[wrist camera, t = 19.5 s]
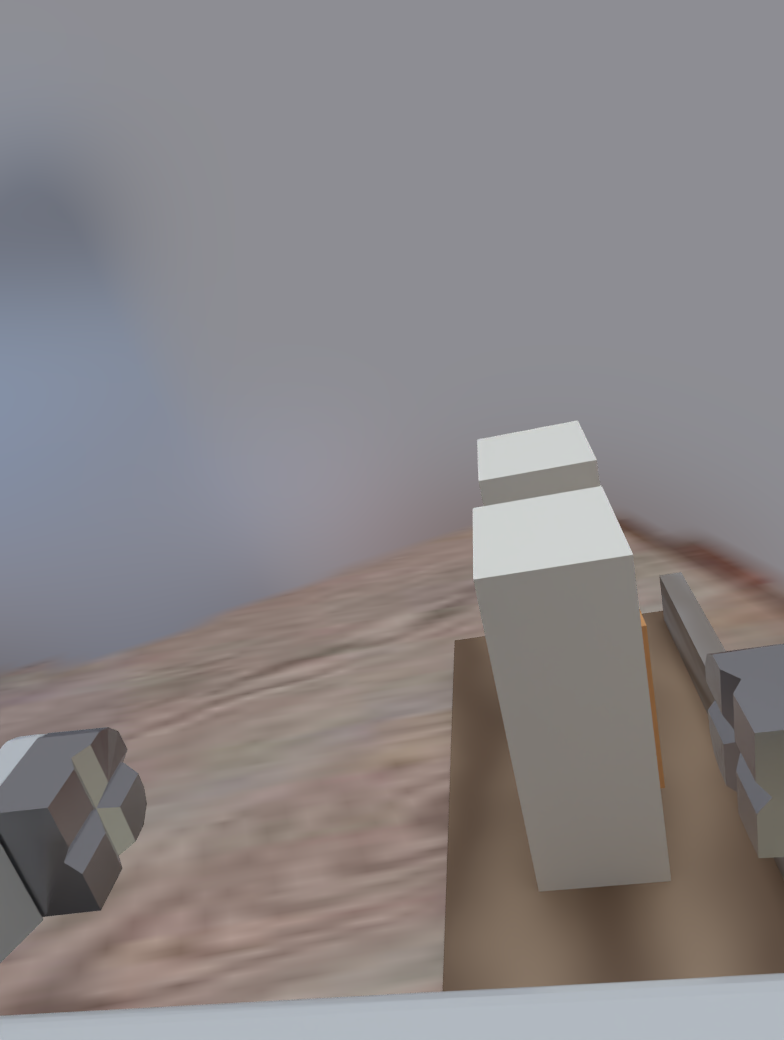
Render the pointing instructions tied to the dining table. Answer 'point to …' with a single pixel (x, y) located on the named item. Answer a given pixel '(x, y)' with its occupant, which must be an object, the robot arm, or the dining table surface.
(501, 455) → the carton
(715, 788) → the shelf board
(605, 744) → the cream carton
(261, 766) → the dining table surface
